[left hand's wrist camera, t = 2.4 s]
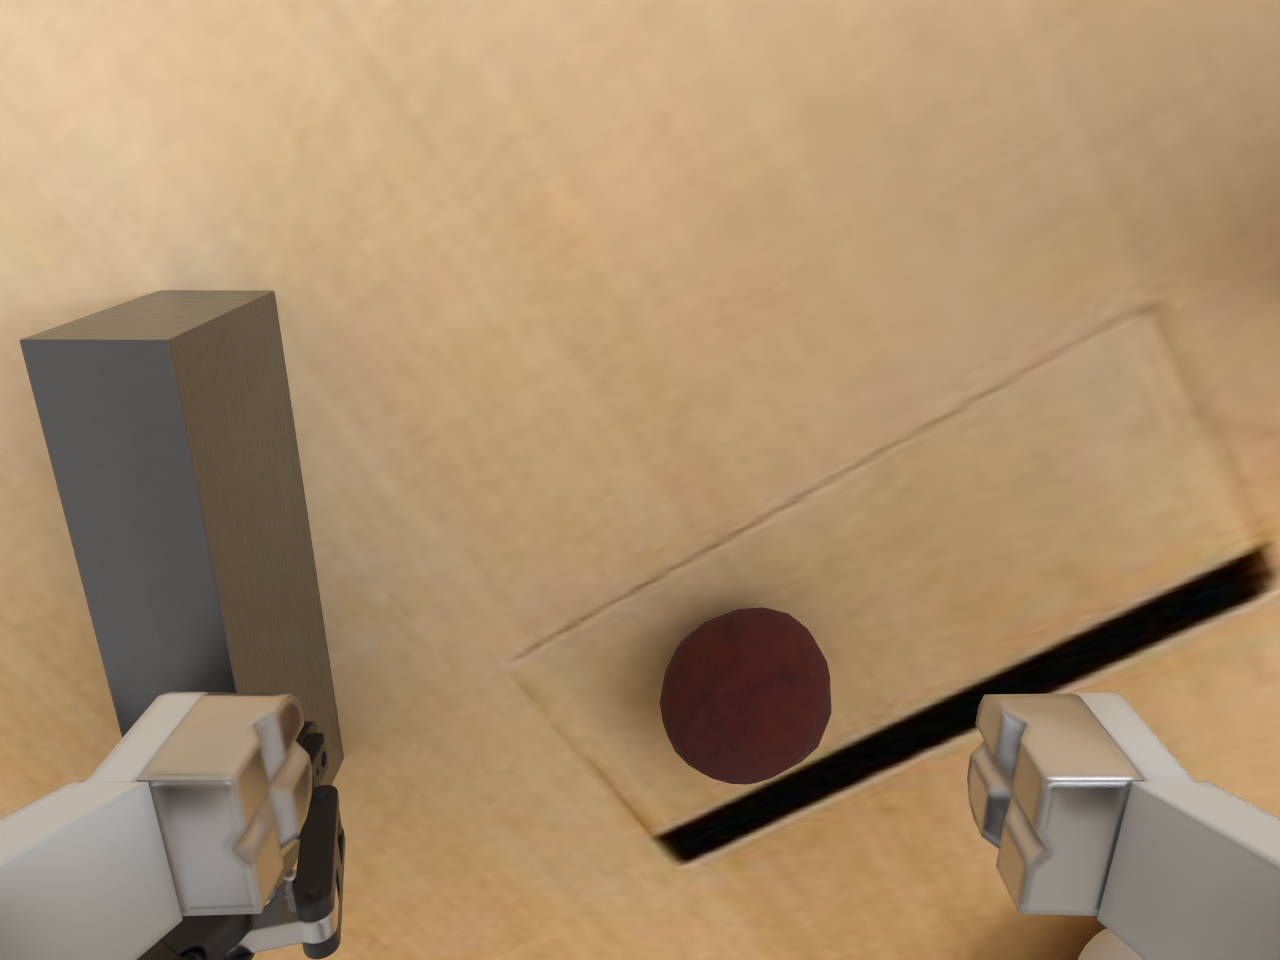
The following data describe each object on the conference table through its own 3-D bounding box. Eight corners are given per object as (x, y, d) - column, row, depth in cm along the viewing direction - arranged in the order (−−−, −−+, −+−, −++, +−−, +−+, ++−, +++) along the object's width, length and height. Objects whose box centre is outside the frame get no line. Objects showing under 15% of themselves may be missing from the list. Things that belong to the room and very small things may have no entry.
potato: (631, 679, 43) (630, 779, 36) (714, 551, 40) (728, 634, 34) (762, 740, 44) (784, 847, 38) (850, 620, 42) (890, 713, 35)
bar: (159, 290, 36) (18, 339, 28) (274, 290, 36) (168, 340, 28) (250, 758, 45) (164, 900, 37) (344, 758, 45) (278, 901, 37)
